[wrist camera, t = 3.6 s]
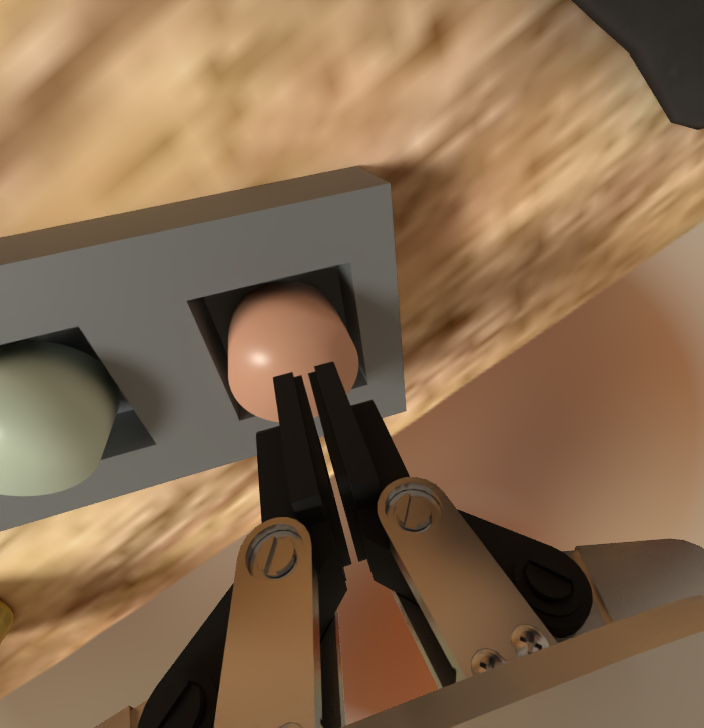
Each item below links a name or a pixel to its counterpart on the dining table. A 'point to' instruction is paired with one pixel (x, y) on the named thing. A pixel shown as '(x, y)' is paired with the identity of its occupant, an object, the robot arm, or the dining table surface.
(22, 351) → the sage button
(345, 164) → the dining table surface
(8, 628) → the vase
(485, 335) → the dining table surface
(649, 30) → the casserole
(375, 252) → the button panel
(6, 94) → the dining table surface
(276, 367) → the terracotta button
